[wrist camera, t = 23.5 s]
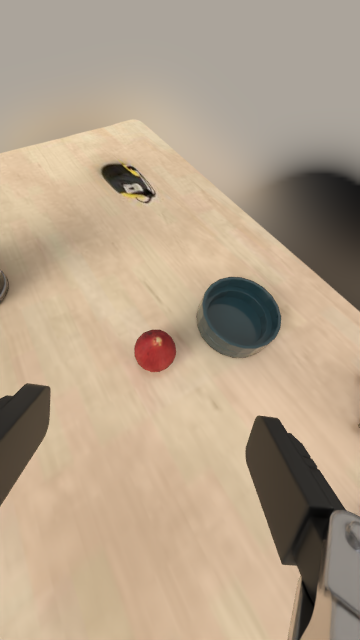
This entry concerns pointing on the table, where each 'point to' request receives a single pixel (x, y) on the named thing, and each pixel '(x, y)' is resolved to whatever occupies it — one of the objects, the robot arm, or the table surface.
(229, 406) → the table surface
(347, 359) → the table surface
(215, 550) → the table surface
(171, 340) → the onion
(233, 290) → the bowl
